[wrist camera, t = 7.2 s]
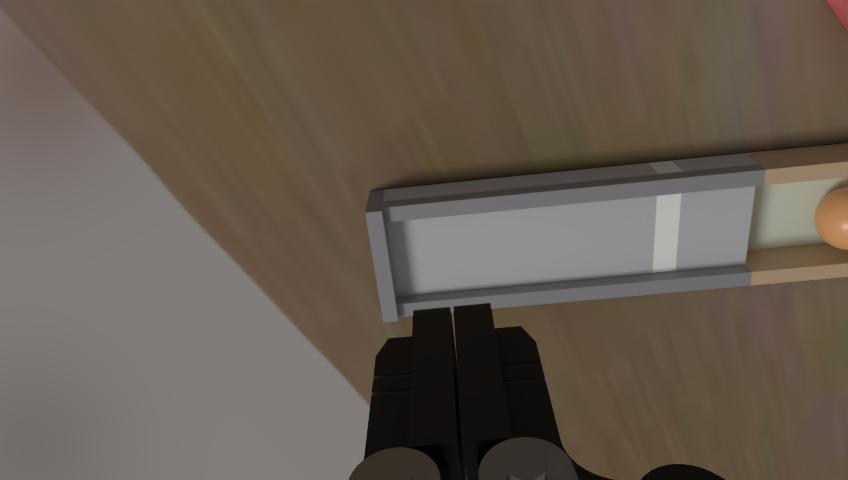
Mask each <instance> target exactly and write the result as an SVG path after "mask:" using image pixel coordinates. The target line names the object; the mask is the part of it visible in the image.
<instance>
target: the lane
mask: <svg viewBox="0 0 848 480" xmlns="http://www.w3.org/2000/svg"><path fill="white" fill-rule="evenodd" d="M845 187H848V143H841V144H831V145H821V146H811V147H801V148H791V149H782V150H772V151H762V152H752V153H742V154H732V155H722V156H712V157H702V158H692V159H682V160H672V161H662V162H653V163H643V164H633V165H623V166H613V167H603V168H593V169H583V170H573V171H563V172H553V173H543V174H534V175H524V176H514V177H504V178H494V179H484V180H474V181H464V182H454V183H444V184H434V185H424V186H414V187H405V188H395V189H385V190H375V191H370V193H369V198H368V202H367V207H366V212H365V214H366V220H367V226H368V232H369V238H370V244H371V250H372V256H373V262H374V268H375V275H376V281H377V287H378V293H379V299H380V305H381V311H382V317H383V323H384V322H396V321H398V320H399V317H405V316H413V311H414V310H421V309H432V308H443V307H450V308H451V312H454V306H462V305H473V304H483V303H490V304H491V309H494V308H505V307H516V306H527V305H538V304H549V303H561V302H572V301H583V300H594V299H605V298H616V297H627V296H638V295H650V294H661V293H672V292H683V291H694V290H705V289H716V288H727V287H739V286H750V285H761V284H772V283H783V282H794V281H805V280H816V279H828V278H839V277H848V250H843V249H839V248H836V247H833V246H831V245H829V244H828V243H827V242H825V241H824V240H823V239H822V238H821V237H820V236H819V234H818V233H817V231H816V228H815V225H814V213H815V210H816V208H817V206H818V204H819V202H820V201H821V200H822V199H823V198H824V197H825V196H826V195H828V194H829V193H831V192H833V191H835V190H837V189H840V188H845Z"/></svg>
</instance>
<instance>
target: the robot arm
mask: <svg viewBox="0 0 848 480" xmlns="http://www.w3.org/2000/svg"><path fill="white" fill-rule="evenodd" d="M454 323H455V338H456V350H455V341H454V332H453V324H452V315H451V308H450V307H443V308H432V309H421V310H414V311H413V330H412V336H410V337H399V338H389V339H388V340H387V341H386V343H385V344H384V346H383V347H382V349H381V350H380V351H379V353H378V354H377V356H376V360H375V369H374V380H373V386H372V396H371V404H370V413H369V421H368V430H367V439H366V447H365V456H364V460H363V461H362V462H361V463H360V464H359V465H358V466H357V467H356V468H355V469H354V471H353V472H352V474H351V476H350V478H349V480H466V477H467V480H613V479H609V478H605V477H601V476H598V475H596V474H593V473H591V472H589V471H587V470H585V469H584V468H582V467H581V466H579V465H578V464H577V463H576V462H574V461H573V460H572V459H571V458H570V456H569V455H568V454H567V453H566V451H565V449H564V448H563V446H562V443H561V440H560V436H559V432H558V428H557V424H556V420H555V416H554V412H553V408H552V404H551V400H550V396H549V392H548V388H547V384H546V381H545V376H544V372H543V368H542V365H541V361H540V357H539V353H538V349H537V345H536V341H535V340H534V339H533V338H532V337H531V336H530V335H529V334H528V333H527V332H526V331H525V330H524V329H523V328H522V327H521V326H517V327H506V328H494V322H493V316H492V310H491V304H490V303H483V304H473V305H462V306H454ZM456 353H457V359H456ZM465 468H466V471H465ZM641 480H725V479H723V478H722V477H720V476H718V475H716V474H714V473H713V472H711V471H708V470H706V469H703V468H700V467H696V466H692V465H685V464H672V465H665V466H661V467H658V468H656V469H654V470H651V471H650V472H649V473H647V474H646V475H645V476H644V477H643V478H642V479H641Z"/></svg>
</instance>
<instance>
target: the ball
mask: <svg viewBox="0 0 848 480" xmlns="http://www.w3.org/2000/svg"><path fill="white" fill-rule="evenodd" d="M814 225H815V228H816V231H817V233H818V234H819V236H820V237H821V238H822V239H823V240H824V241H825V242H827V243H828V244H829V245H831V246H833V247H836V248H839V249H843V250H848V187H845V188H840V189H837V190H835V191H833V192H831V193H829V194H828V195H826V196H825V197H824V198H823V199H822V200H821V201H820V202H819V204H818V206H817V208H816V210H815V213H814Z"/></svg>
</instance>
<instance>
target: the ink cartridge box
mask: <svg viewBox="0 0 848 480" xmlns="http://www.w3.org/2000/svg"><path fill="white" fill-rule="evenodd" d="M826 1H827V3H828V4H829V6H830V7H831V8H832V10H833V11H834V13H835V14H836V15H837V17H838V18H839V20H840V21H841V23H842V24H843V26H844V27H845V28H846V30H847V31H848V0H826Z"/></svg>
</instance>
